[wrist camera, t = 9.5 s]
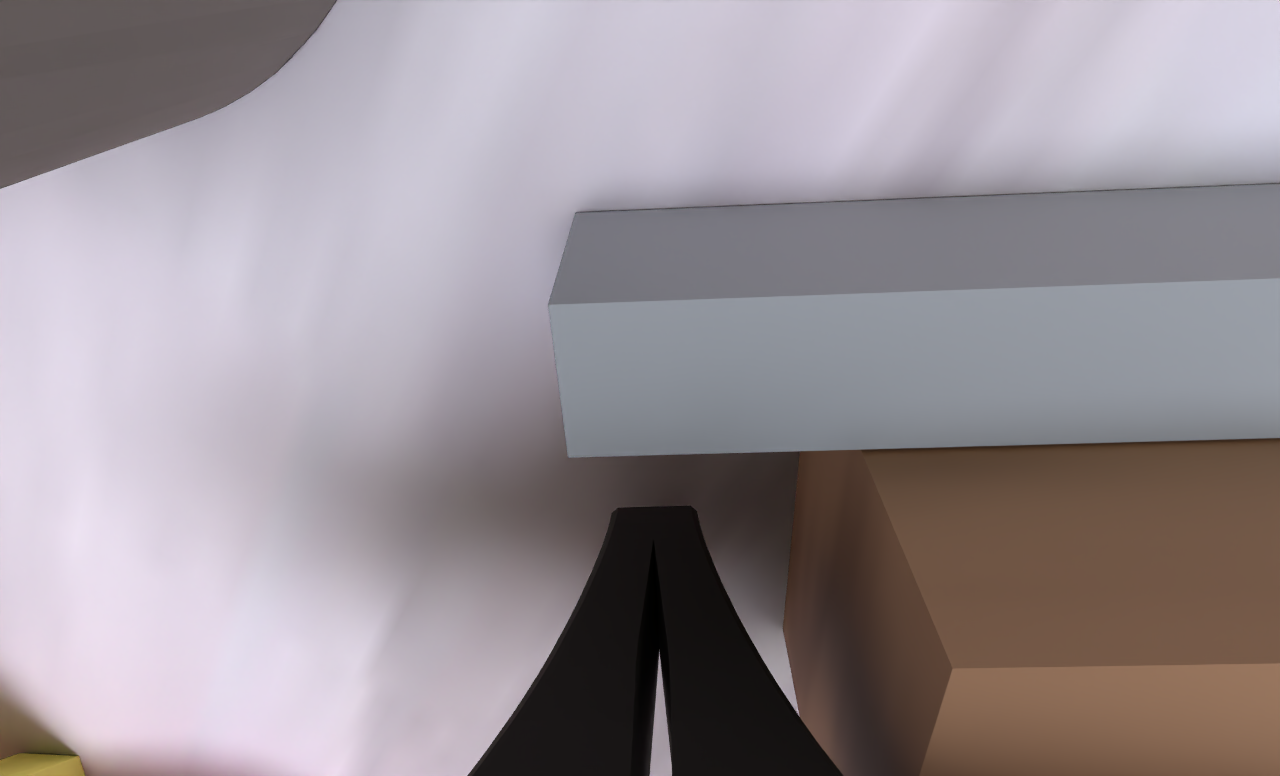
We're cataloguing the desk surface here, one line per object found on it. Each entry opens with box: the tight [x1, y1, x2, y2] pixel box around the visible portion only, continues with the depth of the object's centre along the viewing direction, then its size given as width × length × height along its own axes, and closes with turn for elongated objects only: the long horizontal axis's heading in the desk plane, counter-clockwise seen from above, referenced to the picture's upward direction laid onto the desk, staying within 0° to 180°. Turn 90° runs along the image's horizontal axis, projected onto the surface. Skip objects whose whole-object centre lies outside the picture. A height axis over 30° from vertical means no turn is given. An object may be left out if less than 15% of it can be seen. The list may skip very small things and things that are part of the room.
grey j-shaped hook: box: [548, 184, 1280, 458], centre depth 11 cm, size 12×21×3 cm, turn 93°
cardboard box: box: [783, 438, 1280, 776], centre depth 9 cm, size 7×5×7 cm
